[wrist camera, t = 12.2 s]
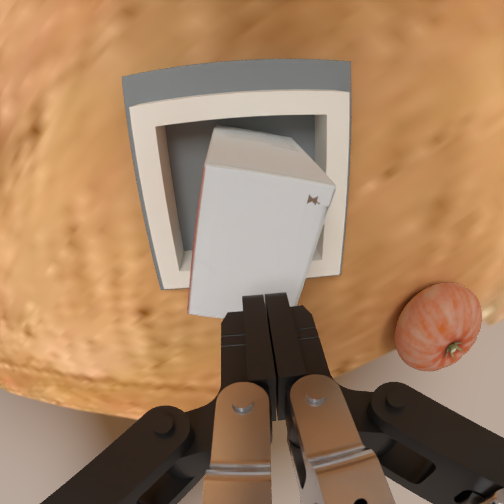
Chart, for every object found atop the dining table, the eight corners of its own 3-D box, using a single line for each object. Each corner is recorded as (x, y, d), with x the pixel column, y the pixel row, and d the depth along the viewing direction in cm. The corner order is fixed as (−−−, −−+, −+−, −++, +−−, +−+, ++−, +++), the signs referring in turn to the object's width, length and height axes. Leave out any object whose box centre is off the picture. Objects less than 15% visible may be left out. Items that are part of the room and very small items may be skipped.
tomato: (366, 318, 33) (392, 373, 26) (437, 249, 29) (479, 295, 23) (411, 349, 37) (435, 395, 30) (471, 294, 33) (504, 335, 26)
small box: (214, 122, 21) (202, 158, 12) (293, 136, 22) (340, 182, 13) (199, 225, 25) (184, 317, 16) (269, 235, 26) (292, 328, 17)
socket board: (128, 76, 20) (106, 77, 16) (343, 62, 20) (367, 60, 16) (163, 280, 29) (155, 312, 25) (336, 265, 29) (350, 295, 26)
